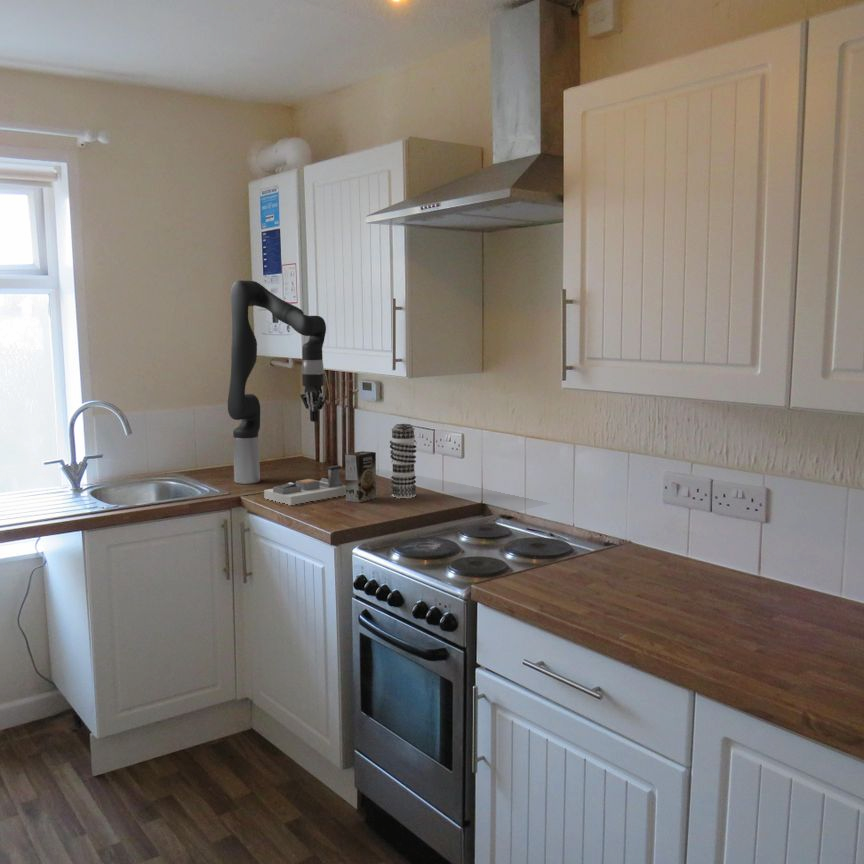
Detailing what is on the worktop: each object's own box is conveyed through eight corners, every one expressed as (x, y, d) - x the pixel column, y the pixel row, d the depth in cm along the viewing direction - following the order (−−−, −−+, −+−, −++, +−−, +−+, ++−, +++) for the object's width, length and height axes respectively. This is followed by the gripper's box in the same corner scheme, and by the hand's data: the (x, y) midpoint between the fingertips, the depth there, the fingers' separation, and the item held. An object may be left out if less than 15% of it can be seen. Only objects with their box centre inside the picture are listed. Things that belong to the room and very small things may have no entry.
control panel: (264, 498, 293) (263, 483, 292) (323, 488, 310) (322, 473, 309) (291, 505, 281) (290, 489, 281) (350, 494, 299) (350, 479, 298)
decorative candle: (388, 493, 299) (387, 423, 296) (415, 492, 301) (414, 422, 298) (392, 499, 290) (390, 426, 287) (418, 498, 292) (418, 425, 289)
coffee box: (359, 503, 285) (358, 455, 283) (345, 500, 289) (344, 453, 287) (377, 498, 292) (376, 451, 290) (363, 496, 296) (362, 450, 294)
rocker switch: (277, 490, 289) (277, 486, 289) (290, 485, 292) (289, 481, 292) (283, 491, 286) (283, 488, 286) (296, 486, 290) (295, 483, 289)
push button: (299, 487, 295) (299, 480, 295) (309, 485, 298) (308, 479, 298) (306, 489, 292) (306, 482, 292) (315, 487, 295) (315, 480, 295)
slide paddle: (327, 486, 297) (327, 467, 297) (337, 484, 300) (337, 465, 300) (331, 487, 296) (330, 467, 295) (341, 485, 299) (340, 466, 298)
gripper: (293, 372, 303) (294, 420, 305) (315, 374, 294) (316, 423, 296) (310, 371, 308) (311, 419, 311) (332, 372, 299) (333, 422, 301)
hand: (314, 421), depth 303 cm, fingers closed
